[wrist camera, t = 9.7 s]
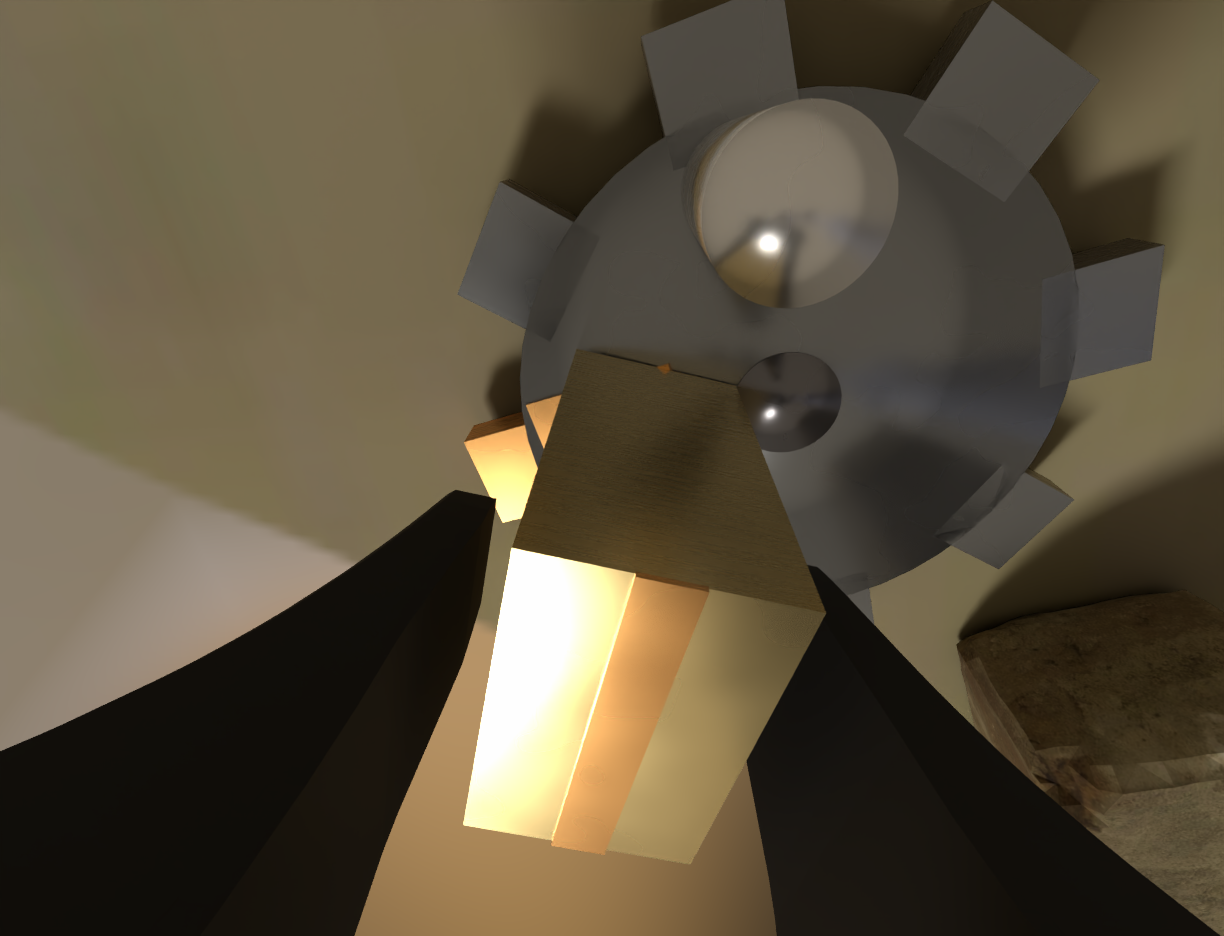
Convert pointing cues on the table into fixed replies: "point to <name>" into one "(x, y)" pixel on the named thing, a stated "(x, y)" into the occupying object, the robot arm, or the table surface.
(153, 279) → the table surface
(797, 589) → the tan rectangular block
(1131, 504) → the table surface
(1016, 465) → the sprocket
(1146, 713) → the stone block
